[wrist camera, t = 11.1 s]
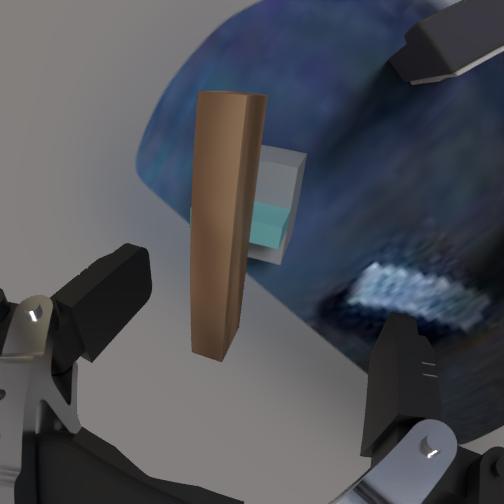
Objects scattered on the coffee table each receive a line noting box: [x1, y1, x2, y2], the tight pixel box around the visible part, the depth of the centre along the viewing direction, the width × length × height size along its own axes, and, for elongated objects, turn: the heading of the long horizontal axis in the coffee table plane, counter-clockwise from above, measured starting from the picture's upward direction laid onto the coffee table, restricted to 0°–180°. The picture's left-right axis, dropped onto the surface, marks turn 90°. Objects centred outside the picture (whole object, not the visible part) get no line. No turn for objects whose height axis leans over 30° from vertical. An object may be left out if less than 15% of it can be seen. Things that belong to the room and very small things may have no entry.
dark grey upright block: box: [388, 0, 504, 85], centre depth 16 cm, size 11×4×15 cm, turn 130°
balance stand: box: [190, 145, 307, 265], centre depth 30 cm, size 8×10×11 cm
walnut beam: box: [190, 91, 268, 362], centre depth 24 cm, size 3×22×5 cm, turn 174°
